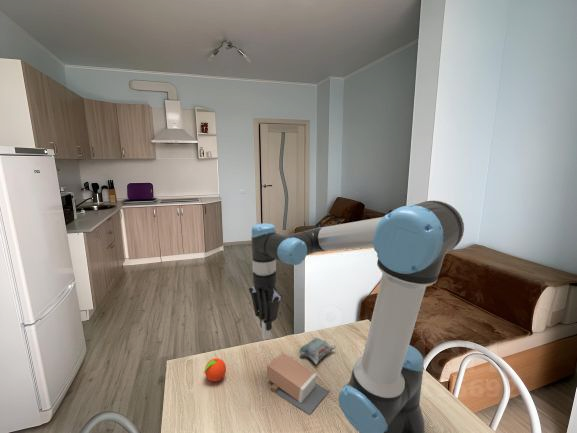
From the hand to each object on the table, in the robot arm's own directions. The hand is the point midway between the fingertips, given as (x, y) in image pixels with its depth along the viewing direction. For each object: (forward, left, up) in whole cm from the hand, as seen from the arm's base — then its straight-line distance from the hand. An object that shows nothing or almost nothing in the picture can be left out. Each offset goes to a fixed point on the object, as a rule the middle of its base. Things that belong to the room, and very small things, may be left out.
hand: (266, 337), depth 100 cm
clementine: (+11, +13, -14) cm, 22 cm away
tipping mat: (-15, 0, -13) cm, 20 cm away
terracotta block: (-4, 0, -9) cm, 10 cm away
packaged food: (-9, -18, -14) cm, 25 cm away
